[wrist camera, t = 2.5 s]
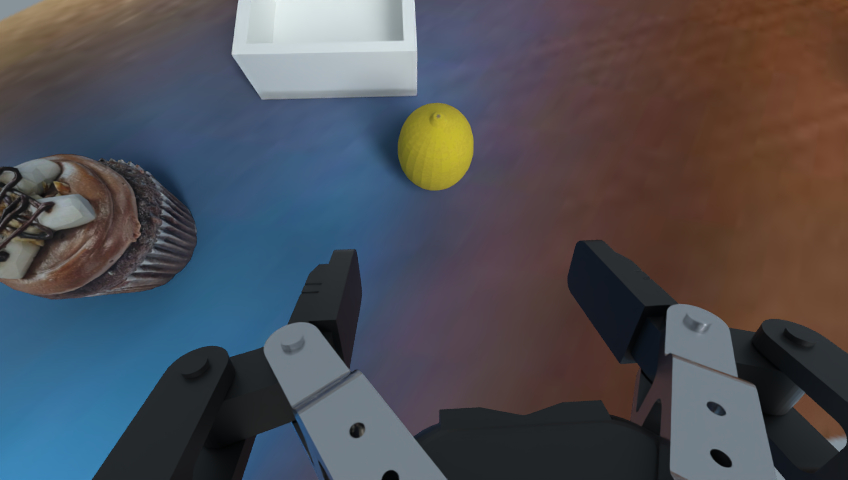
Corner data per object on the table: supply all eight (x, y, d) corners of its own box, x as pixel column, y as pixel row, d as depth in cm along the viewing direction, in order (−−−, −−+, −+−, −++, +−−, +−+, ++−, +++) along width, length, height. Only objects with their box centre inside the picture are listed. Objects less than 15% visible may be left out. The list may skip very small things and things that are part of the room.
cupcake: (234, 224, 26) (128, 165, 17) (146, 329, 24) (-35, 331, 14) (146, 166, 27) (-1, 78, 18) (54, 261, 25) (-171, 220, 15)
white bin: (261, 99, 29) (231, 54, 24) (272, -19, 33) (248, -78, 28) (416, 95, 30) (417, 51, 25) (410, -20, 33) (410, -79, 29)
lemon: (414, 137, 29) (414, 67, 21) (473, 159, 28) (495, 95, 21) (390, 191, 27) (379, 137, 20) (451, 214, 27) (465, 169, 19)
